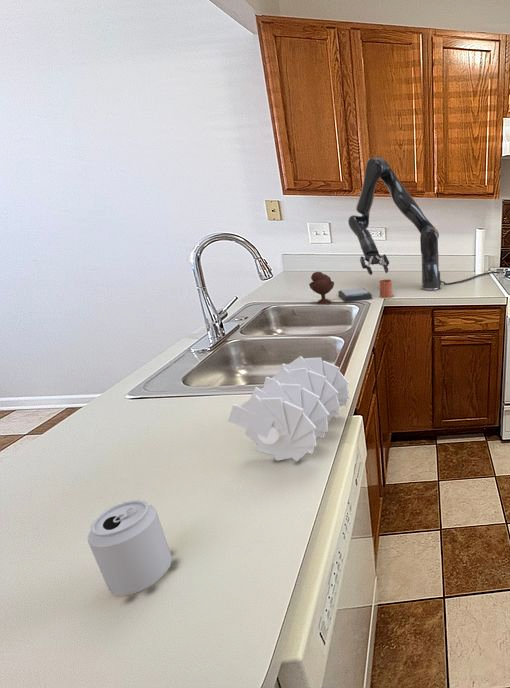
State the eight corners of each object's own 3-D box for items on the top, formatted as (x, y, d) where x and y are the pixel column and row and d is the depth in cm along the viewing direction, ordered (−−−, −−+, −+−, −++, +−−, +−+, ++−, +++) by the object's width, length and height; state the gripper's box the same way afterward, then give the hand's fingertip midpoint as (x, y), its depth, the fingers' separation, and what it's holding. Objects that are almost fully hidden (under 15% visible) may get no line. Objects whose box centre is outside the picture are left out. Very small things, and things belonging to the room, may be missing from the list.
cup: (389, 294, 207) (388, 279, 204) (393, 296, 202) (393, 281, 200) (378, 295, 204) (377, 280, 201) (382, 298, 199) (381, 282, 197)
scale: (363, 292, 208) (363, 287, 207) (371, 298, 198) (371, 293, 197) (338, 295, 202) (338, 289, 201) (345, 302, 191) (344, 296, 190)
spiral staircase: (341, 422, 105) (296, 486, 82) (278, 393, 103) (214, 451, 80) (366, 366, 100) (326, 418, 76) (301, 335, 98) (239, 378, 74)
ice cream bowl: (328, 306, 184) (324, 274, 179) (306, 304, 186) (302, 273, 181) (340, 300, 194) (337, 270, 189) (319, 298, 196) (316, 268, 191)
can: (104, 578, 59) (77, 517, 55) (164, 545, 65) (144, 487, 61) (117, 610, 55) (90, 547, 51) (180, 572, 61) (160, 512, 56)
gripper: (357, 244, 201) (368, 270, 197) (383, 242, 210) (394, 267, 205) (354, 252, 207) (364, 278, 203) (379, 250, 216) (390, 275, 211)
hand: (379, 273), depth 204 cm, fingers open, 8 cm apart
